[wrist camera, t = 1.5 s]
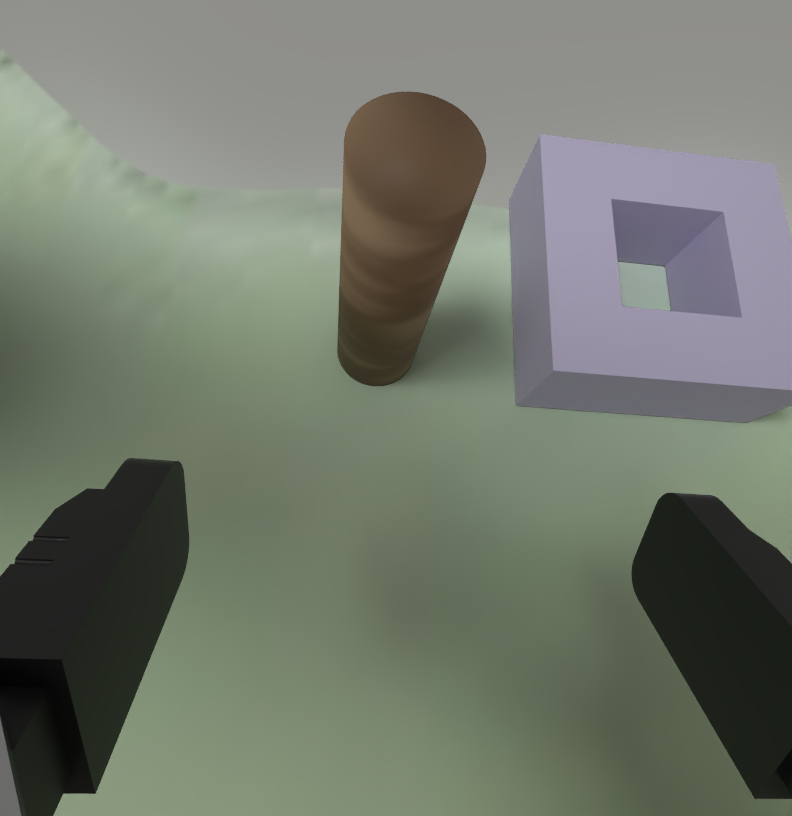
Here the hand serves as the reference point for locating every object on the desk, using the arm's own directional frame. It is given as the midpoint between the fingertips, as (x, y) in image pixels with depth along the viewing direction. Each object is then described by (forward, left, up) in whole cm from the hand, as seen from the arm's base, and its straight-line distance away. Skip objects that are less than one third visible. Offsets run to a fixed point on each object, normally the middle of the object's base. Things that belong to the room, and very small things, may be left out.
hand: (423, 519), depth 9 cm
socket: (+14, +15, -17) cm, 26 cm away
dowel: (0, +11, -17) cm, 20 cm away
